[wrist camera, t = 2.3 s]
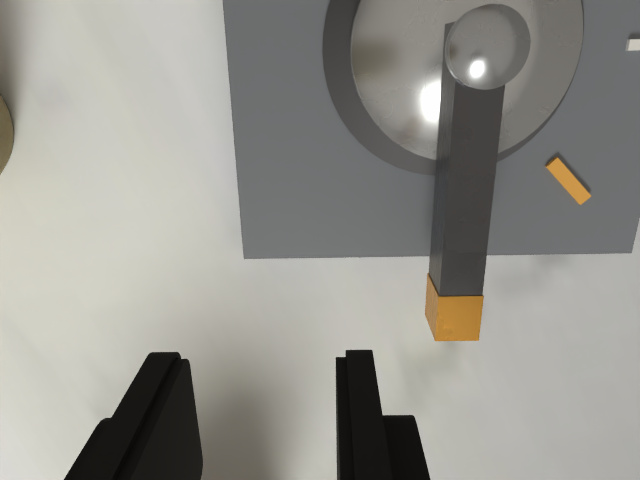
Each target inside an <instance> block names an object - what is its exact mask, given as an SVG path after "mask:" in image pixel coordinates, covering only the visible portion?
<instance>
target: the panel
mask: <svg viewBox="0 0 640 480" xmlns="http://www.w3.org/2000/svg"><path fill="white" fill-rule="evenodd" d="M359 2H360V0H223V10H224V22H225V34H226V46H227V59H228V71H229V83H230V95H231V107H232V120H233V132H234V144H235V156H236V169H237V181H238V193H239V205H240V218H241V230H242V242H243V254H244V259H267V258H336V257H404V256H430V246H431V231H432V215H433V200H434V184H435V169H436V160H434V159H429V158H426V157H423V156H420V155H417V154H415V153H413V152H410V151H408V150H406V149H404V148H403V147H401V146H400V145H398V144H397V143H395V142H394V141H393V140H392V139H390V138H389V137H388V136H387V135H386V134H385V133H384V132H383V131H382V130H381V129H380V128H379V127H378V126H377V124H376V123H375V122H374V121H373V119H372V118H371V116H370V115H369V113H368V112H367V110H366V109H365V107H364V106H363V104H362V102H361V100H360V98H359V96H358V94H357V91H356V88H355V85H354V82H353V78H352V73H351V67H350V55H349V47H350V35H351V29H352V24H353V20H354V16H355V13H356V10H357V7H358V5H359ZM581 5H582V11H583V38H582V47H581V52H580V56H579V61H578V64H577V67H576V70H575V73H574V76H573V78H572V80H571V82H570V85H569V87H568V89H567V91H566V93H565V94H564V96H563V98H562V99H561V101H560V102H559V104H558V106H557V107H556V108H555V109H554V111H553V112H552V113H551V114H550V116H549V117H548V118H547V119H546V120H545V121H544V122H543V123H542V124H541V125H540V126H539V127H538V128H537V129H536V130H535V131H534V132H532V133H531V134H530V135H529V136H528V137H526V138H525V139H524V140H522V141H520V142H519V143H517V144H516V145H514V146H512V147H511V148H508V149H506V150H504V151H502V152H500V153H498V156H497V165H496V174H495V183H494V192H493V201H492V211H491V220H490V229H489V238H488V247H487V255H541V254H609V253H632V249H633V244H634V240H635V235H636V231H637V226H638V222H639V217H640V0H581Z"/></svg>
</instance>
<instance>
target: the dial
mask: <svg viewBox="0 0 640 480" xmlns="http://www.w3.org/2000/svg"><path fill="white" fill-rule="evenodd" d="M582 38H583V11H582V5H581V0H360V2H359V5H358V7H357V10H356V13H355V16H354V20H353V24H352V29H351V35H350V47H349V55H350V67H351V73H352V78H353V82H354V85H355V88H356V91H357V94H358V96H359V98H360V100H361V102H362V104H363V106H364V107H365V109H366V110H367V112H368V113H369V115H370V116H371V118H372V119H373V121H374V122H375V123H376V124H377V126H378V127H379V128H380V129H381V130H382V131H383V132H384V133H385V134H386V135H387V136H388V137H389V138H390V139H392V140H393V141H394V142H395V143H397V144H398V145H400V146H401V147H403V148H404V149H406V150H408V151H410V152H413V153H415V154H417V155H420V156H423V157H426V158H429V159H434V160H436V169H435V184H434V200H433V215H432V231H431V246H430V262H429V273H428V274H427V290H426V306H425V316H426V318H427V321H428V324H429V326H430V329H431V331H432V334H433V337H434V339H435V341H479V333H480V324H481V315H482V306H483V297H484V296H483V294H482V293H483V284H484V275H485V266H486V256H487V247H488V238H489V229H490V220H491V211H492V201H493V192H494V183H495V174H496V165H497V156H498V153H500V152H502V151H504V150H506V149H508V148H511V147H512V146H514V145H516V144H517V143H519V142H520V141H522V140H524V139H525V138H526V137H528V136H529V135H530V134H531V133H532V132H534V131H535V130H536V129H537V128H538V127H539V126H540V125H541V124H542V123H543V122H544V121H545V120H546V119H547V118H548V117H549V116H550V114H551V113H552V112H553V111H554V109H555V108H556V107H557V106H558V104H559V102H560V101H561V99H562V98H563V96H564V94H565V93H566V91H567V89H568V87H569V85H570V82H571V80H572V78H573V76H574V73H575V70H576V67H577V64H578V61H579V56H580V52H581V47H582Z"/></svg>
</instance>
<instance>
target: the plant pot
mask: <svg viewBox="0 0 640 480" xmlns="http://www.w3.org/2000/svg"><path fill="white" fill-rule="evenodd" d="M12 147H13V125H12V120H11V116H10V113H9V111H8V108H7V106H6V104H5V102H4V100H3V98H2V96H1V95H0V174H1V173H2V171H3V169H4V168H5V166H6V164H7V162H8V160H9V158H10V155H11V152H12Z"/></svg>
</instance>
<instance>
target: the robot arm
mask: <svg viewBox="0 0 640 480" xmlns="http://www.w3.org/2000/svg"><path fill="white" fill-rule="evenodd" d="M336 428H337V480H430V476H429V472H428V468H427V464H426V460H425V456H424V452H423V448H422V444H421V440H420V436H419V432H418V427H417V423H416V420H415V417H414V416H413V415H385V416H383V415H382V409H381V403H380V396H379V390H378V384H377V377H376V371H375V365H374V358H373V352H372V350H346V357H336ZM202 467H203V458H202V450H201V443H200V435H199V428H198V421H197V413H196V406H195V399H194V391H193V384H192V376H191V369H190V363H189V360H188V359H181V356H180V354H179V353H178V352H152V353H150V354H149V355H148V356H147V358H146V359H145V361H144V363H143V365H142V366H141V368H140V370H139V371H138V373H137V375H136V377H135V378H134V380H133V382H132V383H131V385H130V387H129V389H128V390H127V392H126V394H125V395H124V397H123V399H122V401H121V402H120V404H119V406H118V407H117V409H116V411H115V412H114V414H113V416H112V418H105V419H103V420H101V421H100V423H99V424H98V425H97V426H96V428H95V430H94V431H93V433H92V434H91V436H90V438H89V439H88V441H87V443H86V444H85V446H84V448H83V449H82V451H81V453H80V454H79V456H78V457H77V459H76V461H75V462H74V464H73V466H72V467H71V469H70V471H69V472H68V474H67V475H66V477H65V479H64V480H200V479H201V475H202Z"/></svg>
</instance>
